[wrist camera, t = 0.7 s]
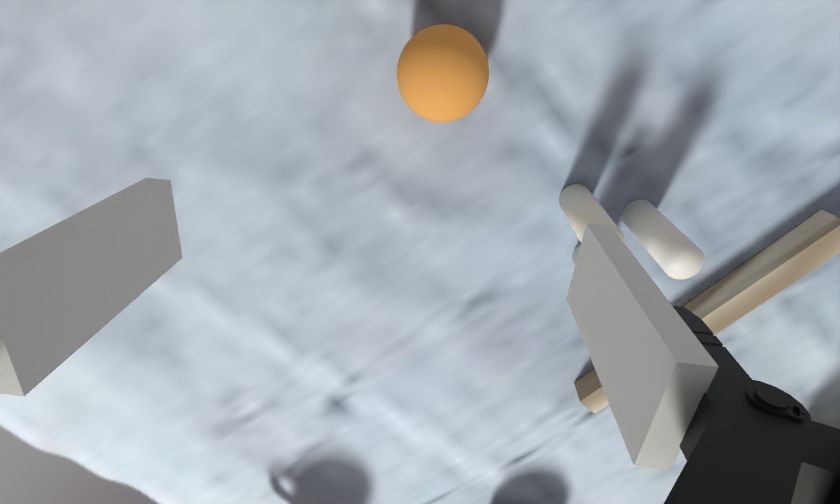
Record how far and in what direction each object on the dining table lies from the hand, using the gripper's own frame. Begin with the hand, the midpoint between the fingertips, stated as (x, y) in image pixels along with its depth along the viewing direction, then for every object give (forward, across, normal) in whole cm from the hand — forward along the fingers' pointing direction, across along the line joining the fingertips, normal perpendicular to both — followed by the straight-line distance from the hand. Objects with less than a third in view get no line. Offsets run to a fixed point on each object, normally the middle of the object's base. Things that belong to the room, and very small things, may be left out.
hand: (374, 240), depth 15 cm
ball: (+19, +1, +3) cm, 20 cm away
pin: (+22, +18, -6) cm, 29 cm away
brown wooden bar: (+22, +25, -14) cm, 36 cm away
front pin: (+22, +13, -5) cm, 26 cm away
